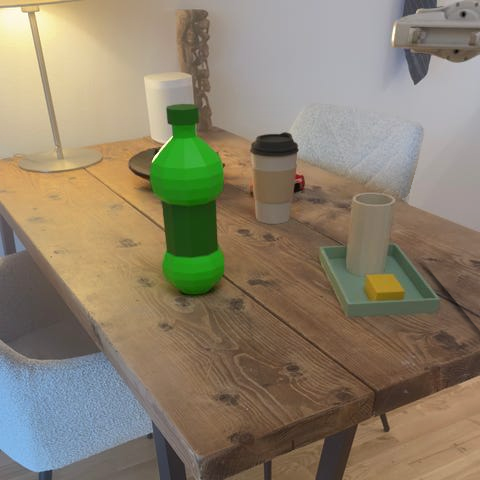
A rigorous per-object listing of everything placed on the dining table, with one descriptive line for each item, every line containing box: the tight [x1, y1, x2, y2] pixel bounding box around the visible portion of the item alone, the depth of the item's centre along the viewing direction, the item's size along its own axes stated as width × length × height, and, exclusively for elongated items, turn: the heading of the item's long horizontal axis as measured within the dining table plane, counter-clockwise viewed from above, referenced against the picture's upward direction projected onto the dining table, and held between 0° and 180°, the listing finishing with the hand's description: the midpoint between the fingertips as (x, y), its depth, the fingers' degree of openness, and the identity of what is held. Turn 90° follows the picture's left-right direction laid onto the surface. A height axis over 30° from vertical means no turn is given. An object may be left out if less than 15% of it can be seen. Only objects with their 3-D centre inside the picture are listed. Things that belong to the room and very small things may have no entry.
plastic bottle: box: [149, 103, 226, 295], centre depth 81 cm, size 10×10×25 cm
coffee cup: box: [249, 131, 299, 225], centre depth 108 cm, size 9×9×15 cm
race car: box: [249, 172, 306, 195], centre depth 125 cm, size 13×5×4 cm, turn 118°
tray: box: [318, 242, 441, 318], centre depth 87 cm, size 21×13×3 cm, turn 4°
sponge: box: [364, 274, 405, 301], centre depth 82 cm, size 6×4×2 cm, turn 4°
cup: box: [346, 192, 397, 277], centre depth 88 cm, size 6×6×11 cm
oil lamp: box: [127, 145, 226, 182], centre depth 130 cm, size 22×30×8 cm
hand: (443, 38), depth 88 cm, fingers open, 8 cm apart
